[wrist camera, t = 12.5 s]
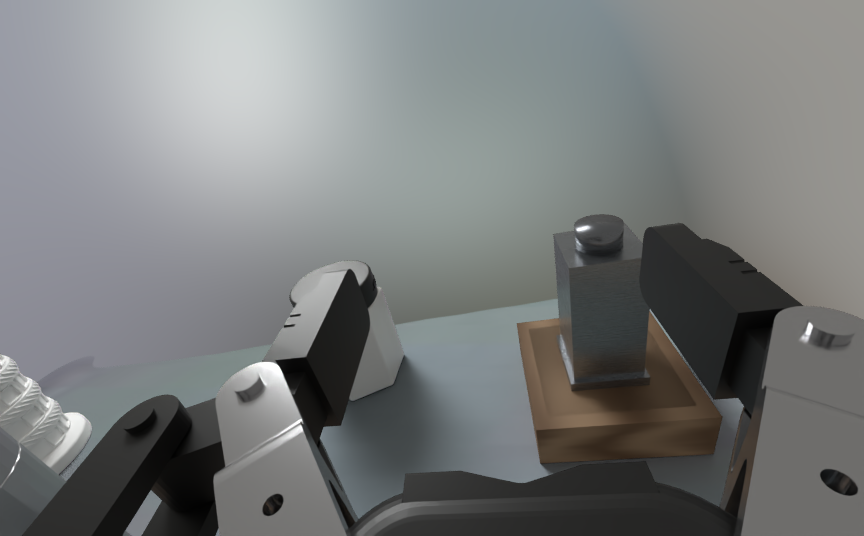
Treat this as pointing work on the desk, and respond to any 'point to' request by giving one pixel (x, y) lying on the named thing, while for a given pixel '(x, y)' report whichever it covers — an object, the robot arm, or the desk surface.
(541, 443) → the stand
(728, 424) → the desk surface
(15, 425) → the decorative container
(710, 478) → the desk surface
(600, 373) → the block
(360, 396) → the jar
